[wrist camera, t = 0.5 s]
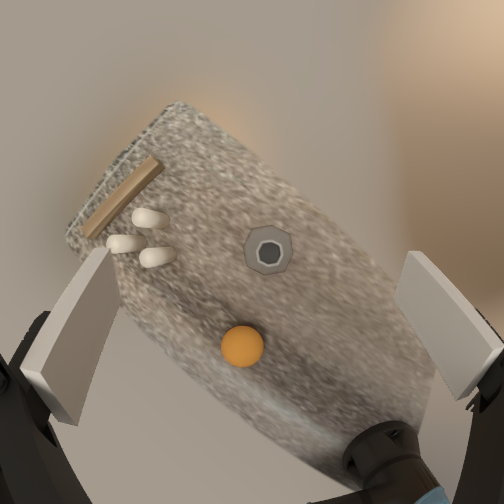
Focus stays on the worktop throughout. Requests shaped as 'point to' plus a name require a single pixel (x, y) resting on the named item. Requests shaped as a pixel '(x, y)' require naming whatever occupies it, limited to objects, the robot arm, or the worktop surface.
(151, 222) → the pin
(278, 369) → the worktop surface
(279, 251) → the flask
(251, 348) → the ball
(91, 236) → the back wall
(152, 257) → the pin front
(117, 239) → the pin
